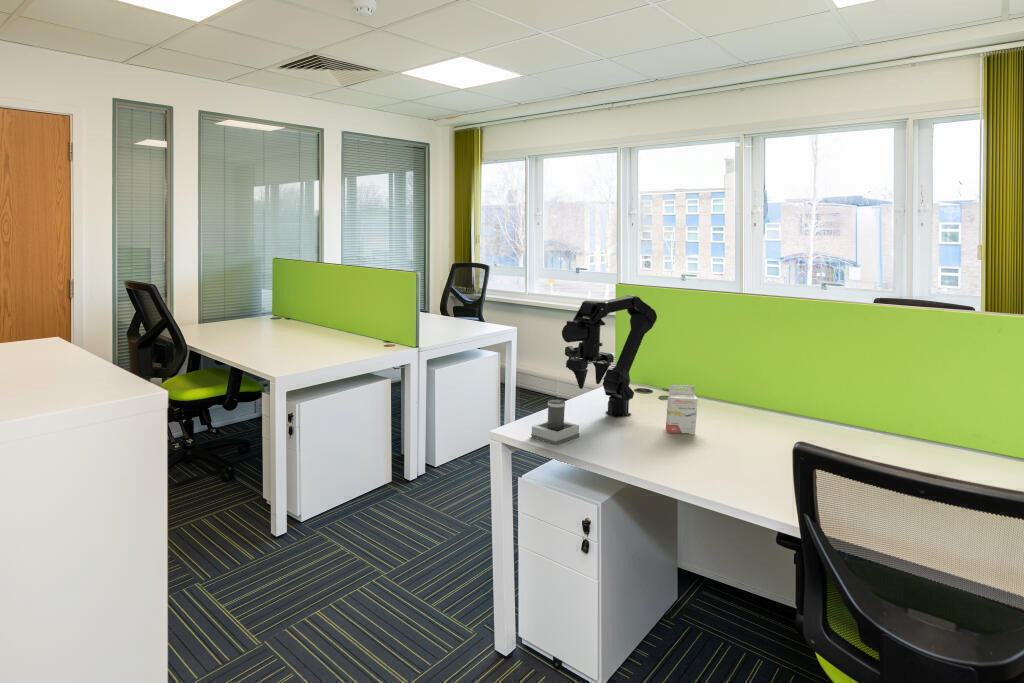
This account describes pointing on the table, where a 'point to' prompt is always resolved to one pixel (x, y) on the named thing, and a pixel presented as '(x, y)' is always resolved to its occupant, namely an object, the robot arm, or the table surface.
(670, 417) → the ink cartridge box
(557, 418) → the gray cylindrical canister
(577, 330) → the robot arm
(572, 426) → the white open box
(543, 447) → the table surface
